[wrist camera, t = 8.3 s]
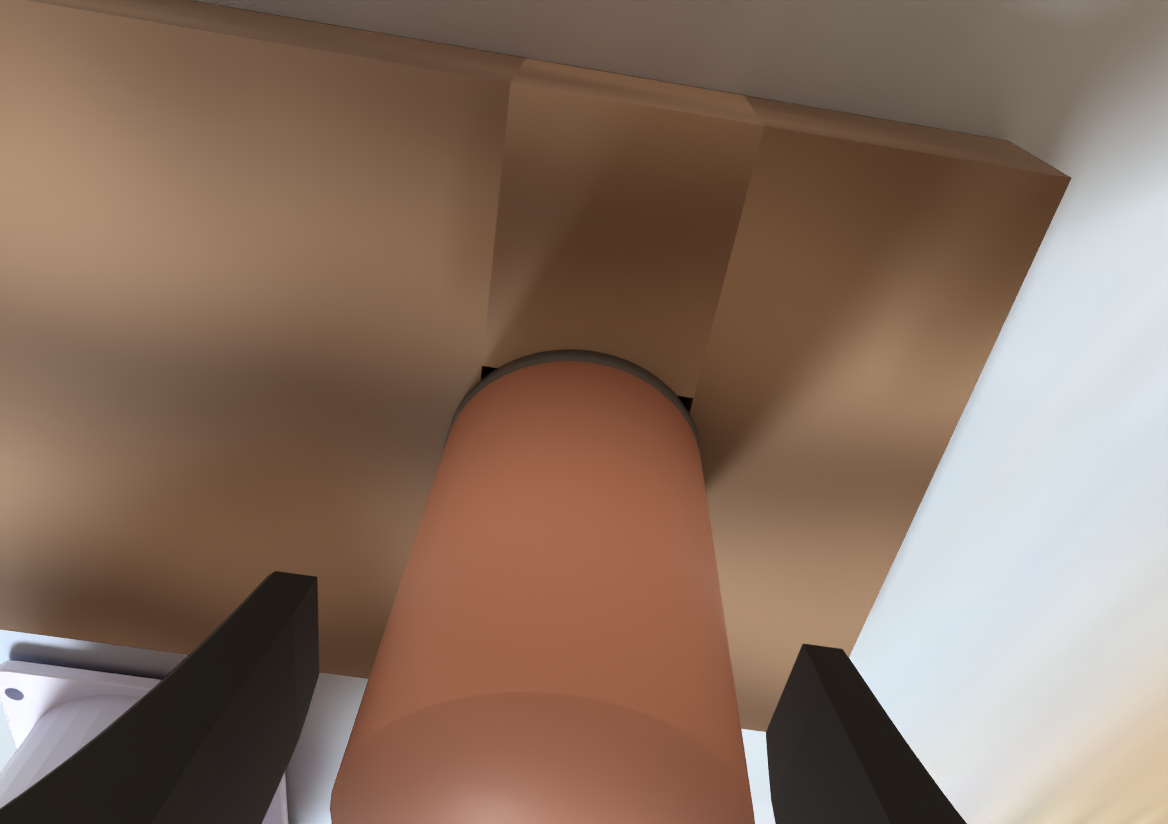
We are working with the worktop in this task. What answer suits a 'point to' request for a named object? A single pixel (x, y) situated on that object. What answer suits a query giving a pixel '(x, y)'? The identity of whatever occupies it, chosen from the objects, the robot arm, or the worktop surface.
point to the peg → (556, 619)
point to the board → (454, 312)
